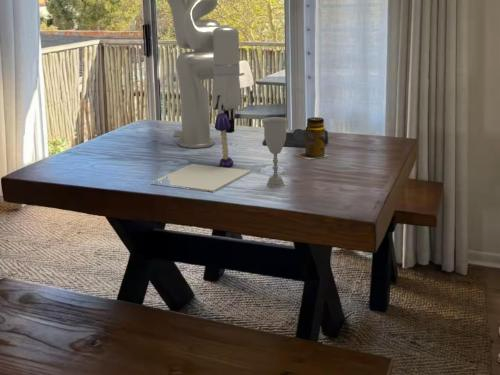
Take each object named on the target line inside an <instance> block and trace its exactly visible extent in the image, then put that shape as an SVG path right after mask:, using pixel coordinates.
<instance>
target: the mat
mask: <svg viewBox="0 0 500 375" xmlns="http://www.w3.org/2000/svg"><path fill="white" fill-rule="evenodd" d="M251 173H252V171H251V170H249V169H241V168H233V167H231V168H230V167H221V166H213V165H205V164H195V163H191V164H188V165H186V166H184V167H181V168H179V169H177V170H175V171H173V172H170V173H168V174H166V175H164V176H162V177H159V178H157V179H155V181H156V180H158V182H159V181H160V183H161V184H162V181H161V180H163V178H164V179H165V178H166V176H167V177H168V179H169V181H170V185H174V186H180V187H185V188H189V189H195V190H194V191H197V190H201V191H200V192H205V191H210V192H209V193H212V192H214V191H216V190H218V189H219V190H221V189H223V188H225V187H227V186H229V185H230V184H232V183H234V182H236V181H238V180H240V179H241V178H244V177H246V176H247V175H249V174H251ZM153 183H154V180H153ZM160 183H159V184H160ZM222 187H223V188H222ZM189 189H188V190H189ZM219 190H218V191H219ZM216 192H217V191H216ZM214 193H215V192H214Z"/></svg>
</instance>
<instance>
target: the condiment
mask: <svg viewBox="0 0 500 375" xmlns="http://www.w3.org/2000/svg"><path fill="white" fill-rule="evenodd" d="M324 121H325V119H324V118H322V117H318V116H317V117H309V118H308V117H307V119H306V122H307V123H306V126H305V130H306V148H305V153H297V154H296V156H297V157H298V158H303V159H306V160H314V159H320V158H326V157H330V156H331V155H330V154H329V155H328V154H325V152H326V151H325V149H326V148H325V146H326V145H325V130H326V127H325V124H324V123H325V122H324Z"/></svg>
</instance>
